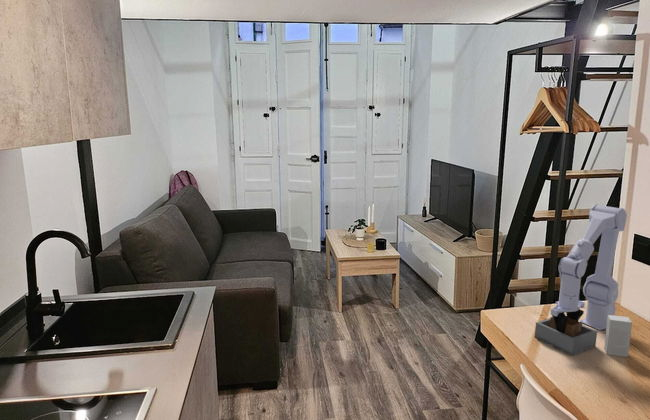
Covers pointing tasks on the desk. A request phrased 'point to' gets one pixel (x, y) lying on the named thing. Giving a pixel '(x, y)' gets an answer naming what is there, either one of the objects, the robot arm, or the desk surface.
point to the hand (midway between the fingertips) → (565, 331)
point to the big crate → (565, 338)
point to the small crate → (569, 327)
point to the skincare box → (618, 335)
